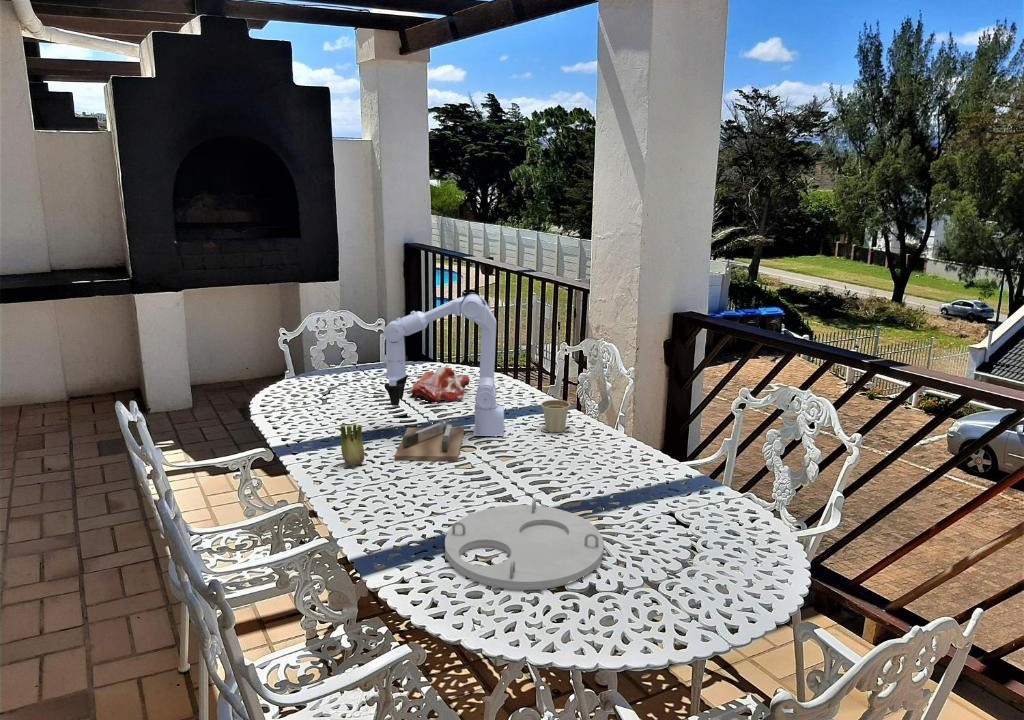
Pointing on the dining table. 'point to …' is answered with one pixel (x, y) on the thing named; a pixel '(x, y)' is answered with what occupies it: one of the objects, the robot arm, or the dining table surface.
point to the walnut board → (431, 447)
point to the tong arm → (425, 433)
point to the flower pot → (555, 414)
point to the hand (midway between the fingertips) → (397, 401)
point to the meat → (440, 385)
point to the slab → (526, 546)
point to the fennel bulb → (352, 445)
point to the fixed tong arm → (446, 438)
